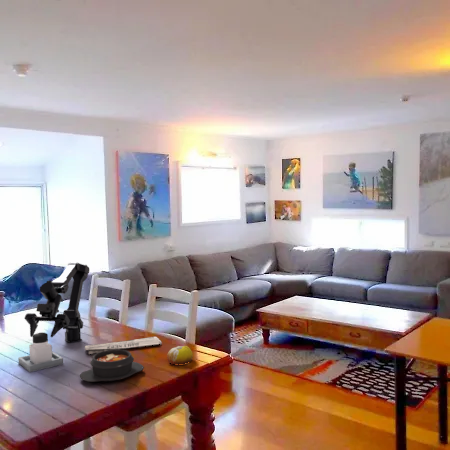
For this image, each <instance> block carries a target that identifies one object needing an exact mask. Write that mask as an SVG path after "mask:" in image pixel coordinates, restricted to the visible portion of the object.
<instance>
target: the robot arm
mask: <svg viewBox="0 0 450 450" xmlns="http://www.w3.org/2000/svg"><path fill="white" fill-rule="evenodd" d="M89 273H90V267H89V266H88V265H87V264H82V263H79V262H68V263H67V267H66V268H65V269H64V270H63V272H62V273H61V275H60V276H59V277H57V278H55V279H54V280H46V282H45V283H42V285H41V286H40V287H39V292H40V293H41V294H42V295H43V297H44V299H45V300H46V302H45V303H37V306H36V312H38V313H39V315H40V316H38V315H37V314H36V313H34V312H33V313H32V312H30V313H29V312H27V313H26V314H25V316H24V321H26V323H28V325H29V336H30V337H31V338H33V335H34V334H36V330H37V329H38V326H39V325H38V324H39V322H54V325H53V328H52V330H51V333H50V338H53V337H54V336H56V334H57V333H59V331H61V330H65V331H64V341H66V342H68V343H70V344H71V343H75V342H76V343H77V342H80V341H83V339H82V337H81V336H82V335H81V329H83V327H84V321H83V320H82V317H81V314H80V313H81V312H80V311H79V307H80V302H81V296H82V290H83V284H84V282H85V281H86V280H87V279H88V276H89ZM71 280H73V282H72V287H71V290H70V292H71V293H70V297H69V303H68V307H67V309H64V310H63V312H62V313H60V310H59V308H60V305H61V302H63V301H64V300H63V297H62V295H63V294H66V293H67V292H68V290H69V288H70V287H69V283H70V282H71ZM61 294H62V295H61Z"/></svg>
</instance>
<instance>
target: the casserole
mask: <svg viewBox="0 0 450 450" xmlns="http://www.w3.org/2000/svg"><path fill="white" fill-rule="evenodd" d="M91 358H92V359H91V360H90V362H89V364H90V366H91V368H90V369H88V370H85V371H83V372H81V373H80V375H79V378H80V379H81V380H82V381H85V382H88V383H95V382H114V381H119V380H123V379H126V378H129V377H131V376H132V375H134V374H137V373H140V372H141V371H143V370H144V365H143V364H141V363H139V362H137V361H135V357H134V356H133V355H132V352H130V351H129V350H127V349H125V350H108V351H103V352H99V353H97V354H93V356H92V357H91Z"/></svg>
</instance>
